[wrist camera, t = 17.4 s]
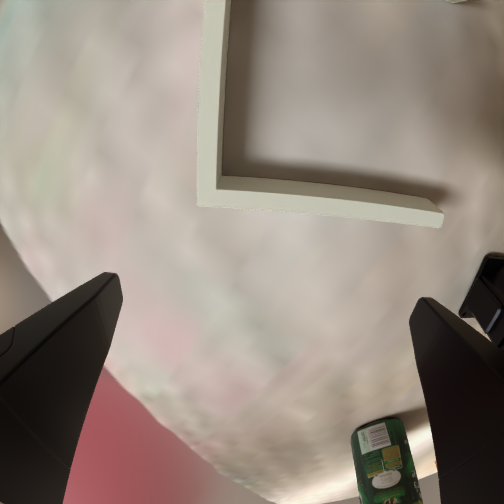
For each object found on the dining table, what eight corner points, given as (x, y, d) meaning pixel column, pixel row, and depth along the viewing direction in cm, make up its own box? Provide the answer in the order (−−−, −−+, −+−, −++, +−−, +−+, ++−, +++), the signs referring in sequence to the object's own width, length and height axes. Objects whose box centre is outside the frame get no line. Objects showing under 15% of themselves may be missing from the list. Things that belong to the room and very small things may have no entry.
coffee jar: (401, 434, 36) (422, 537, 21) (352, 449, 38) (365, 553, 22) (405, 409, 32) (434, 534, 16) (346, 426, 33) (363, 555, 17)
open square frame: (452, -8, 10) (473, -15, 8) (423, 211, 18) (440, 228, 16) (219, -58, 10) (213, -76, 8) (204, 190, 18) (196, 206, 16)
